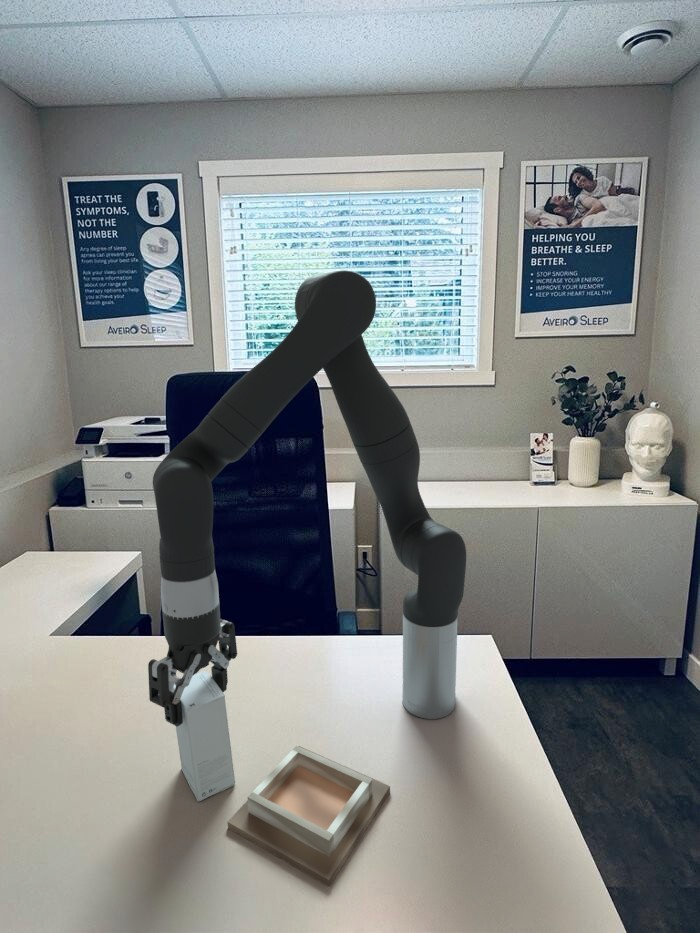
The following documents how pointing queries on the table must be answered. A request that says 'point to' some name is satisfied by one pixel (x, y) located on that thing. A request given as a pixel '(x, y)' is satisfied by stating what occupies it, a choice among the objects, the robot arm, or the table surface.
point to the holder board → (310, 812)
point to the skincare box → (205, 737)
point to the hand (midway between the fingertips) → (198, 705)
